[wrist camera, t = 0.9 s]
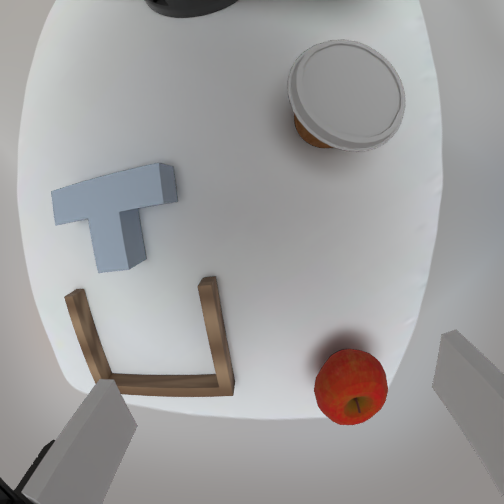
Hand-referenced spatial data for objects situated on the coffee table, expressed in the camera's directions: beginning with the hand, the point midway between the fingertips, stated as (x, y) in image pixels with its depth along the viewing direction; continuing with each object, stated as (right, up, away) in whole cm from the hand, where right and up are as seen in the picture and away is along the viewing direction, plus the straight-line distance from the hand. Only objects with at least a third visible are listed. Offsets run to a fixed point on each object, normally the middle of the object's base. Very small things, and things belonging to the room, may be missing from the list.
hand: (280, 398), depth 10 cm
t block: (-16, +9, +23) cm, 29 cm away
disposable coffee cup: (+7, +20, +20) cm, 29 cm away
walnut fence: (-14, -5, +26) cm, 30 cm away
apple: (+10, -8, +26) cm, 29 cm away
